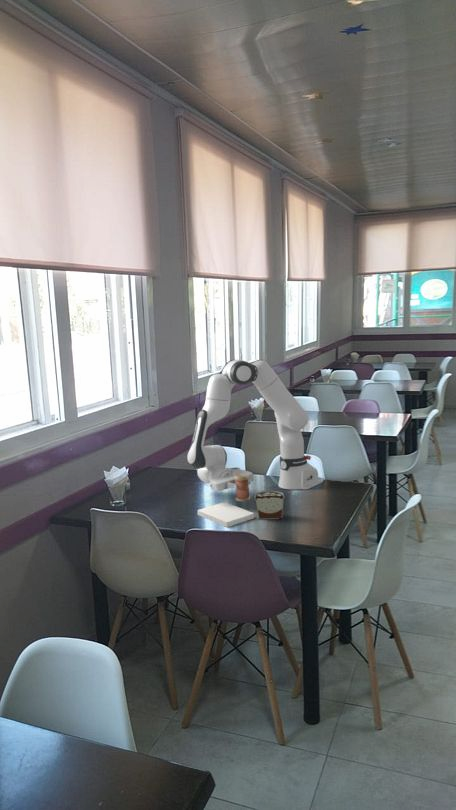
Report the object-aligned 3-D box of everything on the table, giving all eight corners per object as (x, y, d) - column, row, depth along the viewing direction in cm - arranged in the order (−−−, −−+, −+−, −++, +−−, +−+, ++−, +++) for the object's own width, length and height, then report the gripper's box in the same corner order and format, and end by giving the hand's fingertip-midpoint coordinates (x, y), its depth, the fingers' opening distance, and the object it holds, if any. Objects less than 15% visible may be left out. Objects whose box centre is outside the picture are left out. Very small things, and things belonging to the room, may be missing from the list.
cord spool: (244, 495, 246) (242, 473, 245) (253, 498, 241) (251, 475, 240) (232, 499, 243) (231, 476, 241) (241, 502, 238) (240, 479, 236)
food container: (286, 513, 232) (285, 489, 230) (286, 518, 226) (285, 494, 224) (255, 513, 233) (254, 490, 232) (255, 519, 227) (253, 495, 226)
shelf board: (224, 506, 244) (224, 502, 244) (254, 518, 228) (254, 513, 228) (197, 514, 236) (197, 510, 236) (226, 527, 220) (226, 522, 220)
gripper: (203, 476, 244) (223, 483, 234) (240, 466, 257) (260, 471, 246) (205, 490, 245) (224, 497, 235) (241, 479, 258) (261, 485, 247)
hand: (243, 484), depth 240 cm, fingers closed on cord spool, 5 cm apart
